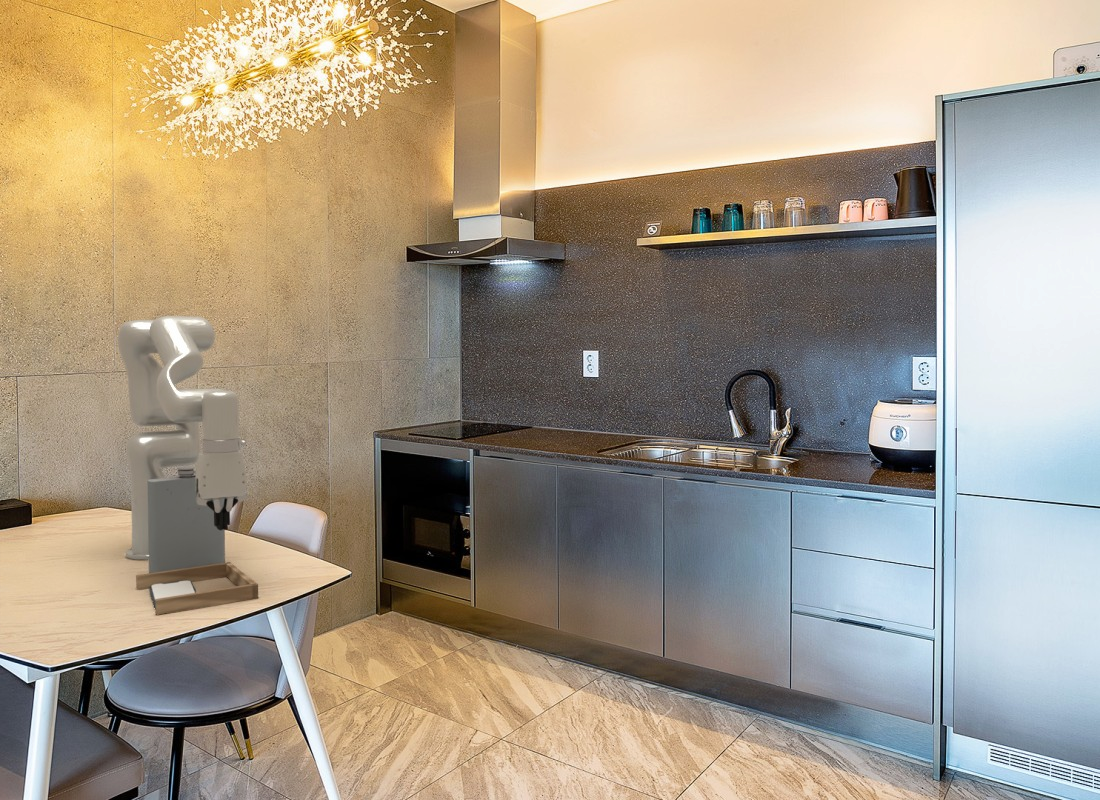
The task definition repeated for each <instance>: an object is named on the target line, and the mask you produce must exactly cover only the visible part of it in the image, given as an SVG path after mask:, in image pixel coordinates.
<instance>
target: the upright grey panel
mask: <svg viewBox="0 0 1100 800" xmlns="http://www.w3.org/2000/svg"><path fill="white" fill-rule="evenodd" d="M176 469H177V476H172V477H171V476H169V477H168V476H167V478H159V479H151V480H147V481H148V544H149V560H148V573H155V572H163V571H170V570H177V569H184V568H191V567H199V566H206V565H213V564H220V563H226V538H225V537H226V536H225V535H226V532H225V531H226V530H224V529H223V530H218V529H217V526H216V527H215V526H214V511H213V510H212V509H211V508H209V507H208V506H203V505H198V504H196V497H197V495H196V493H195V478H196V470H195V467H194V466H192V465H188V466H179V467H177V468H176ZM219 502H220V508H221V510H222V508H223V503H224V498H221V499H219Z"/></svg>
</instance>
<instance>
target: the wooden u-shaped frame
mask: <svg viewBox="0 0 1100 800" xmlns="http://www.w3.org/2000/svg"><path fill="white" fill-rule="evenodd" d="M219 577H220V578H225V577H226V578H227V577H228V579H229V580H230V581H231V582H232V583H233V584H234V583H235V584H234V585H235V586H230V587H223V588H217V589H211V590H204V591H199V592H197V591H196V593H191V594H184V595H178V596H172V597H165V598H159V599H155V609H154V611H155V613H156V614H161V615H165V614H164V613H167V614H171V613H170V612H173V613H177V612H176V611H179V612H183V611H184V610H185V611H190V610H195V609H196V608H197V609H202V608H201V607H203V608H208V607H207V606H209V607H213V606H219V605H225V604H231V603H237V602H243V601H244V602H245V601H249V600H255V599H259V584H258V583H257V582H256V581H255V580H253V579H252V578H251V577H249V576H248V575H247V574H246V573H244V572H243V571H242V570H241V569H239V568H238V567H237V566H236V565H234V564H233V563H232V562H230V561H228V562H225V563H220V564H213V565H206V566H199V567H191V568H184V569H177V570H170V571H163V572H155V573H149V572H148V573H143V574H136V575H135V579H136V580H135V583H136V584H135V586H136V587H135V589H136V588H137V589H139V590H144V589H143V588H146V589H150V586H151V585H153V584H160V583H168V582H177V581H185V580H189V581H192V583H193V582H198V581H206V579H207V580H212V578H213V579H218V578H219ZM137 589H136V590H137ZM156 614H155V615H156Z"/></svg>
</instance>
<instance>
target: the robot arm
mask: <svg viewBox="0 0 1100 800" xmlns="http://www.w3.org/2000/svg"><path fill="white" fill-rule="evenodd" d="M214 343H215V331H214V328H213V326H212V323H211V322H210V321H208V320H207V318H204V317H201V316H191V315H190V316H186V315H166V316H164V315H163V316H161V317H158V318H156V319H134V320H130V321H126V322H124V323H123V324H122V325H121V326H120V328H119V331H118V335H117V345H118V351H119V353H120V356H121V359H122V362H123V364H124V366H125V370H126V373H127V374H126V375H127V386H128V387H127V388H128V398H129V410H130V412H129V413H130V418H131V420H132V422H133V424H135V425H137V426H141V427H162V426H163V427H164V426H175V427H176V430H175V429H174V430H173V429H172V430H158V431H157V430H155V431H144V432H139V433H136V434H133V435H132V436H131V437H130V438H129V439H128V440H127V442H126V444H125V451H126V453H125V454H126V458H127V462H128V468H129V475H130V477H129V478H130V496H131V497H130V499H131V500H130V501H131V502H130V503H131V506H130V507H131V547H130V548H128V549H127V550H125V553H124V554H125V558H128V559H132V560H138V561H139V560H140V561H141V560H144V561H145V560H148V561H149V544H148V481H147V480H151V479H159V478H168V476H167V475H166V474H165V472H163V471H162V470H163V469H168V468H176V467H177V468H178V467H184V466H193V465H195V464H196V468H195V471H196V473H195V475H196V478H195V493H196V495H197V497H196V504H198V505H203V506H208V507H209V508H211V509H212V510H213V511H214V526H215V527H216V526H217V529H218V530H223V529H224V530H225V531H227V530H228V529H229V528H228V527H229V526H230V525H231V511H232V510H233V508H234V507H235V506H236V505H237V504H239V503H242V502H245V501H247V499H248V496H247V491H248V490H247V489H248V488H247V486H248V483H247V474H246V465H245V459H244V454H243V452H242V451H240V450H241V448H242V447H246V446H247V445H246V444H247V443H246V440H245V439H244V440H242V439H240V426H239V425H240V424H239V423H240V421H239V420H240V418H239V417H240V415H239V414H240V413H239V409H240V408H239V396H238V394H237V393H236V392H235V391H232V390H225V389H223V388H177V387H176V385H177V384H179V383H181V382H184V381H185V380H187V379H190V378H192V377H193V376H196V374H198V373H199V372H200V371H201V369H202V368H203V365H204V357H203V355H202V353H203V352H206V351H209V350H210V349H211V348H212V347H213V345H214ZM151 354H152V355H151ZM153 354H157V355H158V356H159V358H160V360H161V362H162V364H163V367H162V365H161V364H160V362H159V361H158V360H157V359H156V358H155V357H154V356H153ZM200 423H201V431H200ZM200 432H202V433H200ZM201 434H202V435H201ZM201 439H202V445H201ZM201 446H202V447H201ZM201 448H202V449H201ZM201 450H202V451H201ZM221 498H224V503H223V508H222V510H221V508H220V502H219V499H221Z"/></svg>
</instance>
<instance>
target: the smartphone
mask: <svg viewBox="0 0 1100 800" xmlns="http://www.w3.org/2000/svg"><path fill="white" fill-rule="evenodd" d="M191 593H197V590H196V588H195V586H194V583H193V582H192V581H189V580H185V581H177V582H168V583H160V584H153V585H151V586H150V588H149V595H150V598H151V597H152V598H151V601H153V602H152V606H153V605H154V606H153V609H154V608H155V599H159V598H165V597H172V596H178V595H184V594H191Z"/></svg>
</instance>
